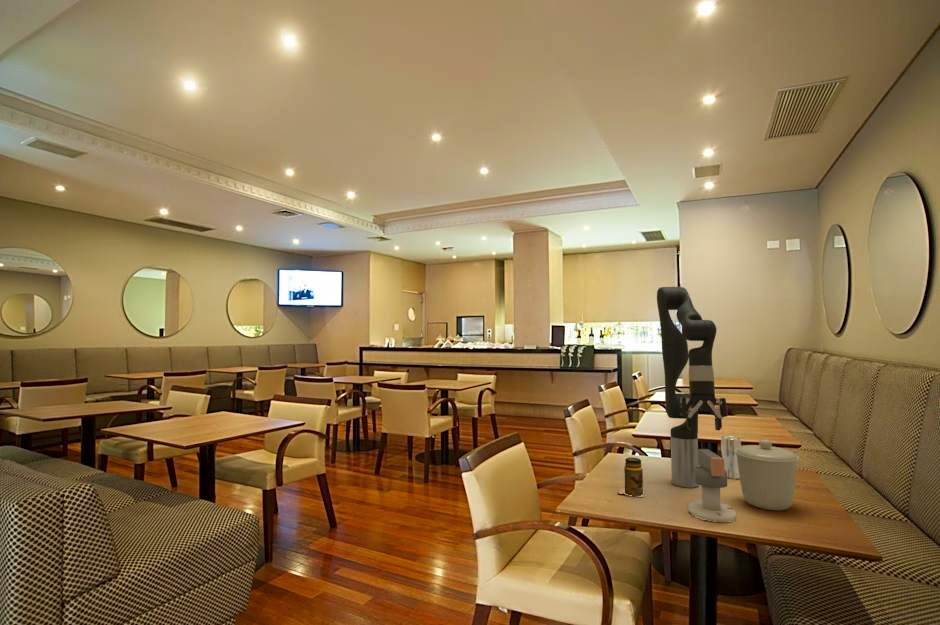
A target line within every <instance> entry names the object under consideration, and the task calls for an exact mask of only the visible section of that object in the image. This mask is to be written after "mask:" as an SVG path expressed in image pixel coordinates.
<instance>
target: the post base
mask: <svg viewBox="0 0 940 625" xmlns="http://www.w3.org/2000/svg"><path fill="white" fill-rule="evenodd" d="M701 496H702V497H701V500H693V501H691V502H689V503H688V513H689V512H690V513H691V514H692V515H694V516H696V517H699V518H702V519H706V520H710V521H716V522H729V521H733V520H735V519H736V518H737V514H736V513H737V512H736V509H735V508H734V507H733V506H730V505H728V504H726V503H721V488H711V487H705V486H701ZM692 515H691V516H692ZM735 521H736V520H735ZM733 522H734V521H733ZM729 523H730V522H729Z"/></svg>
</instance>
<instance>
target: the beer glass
mask: <svg viewBox="0 0 940 625" xmlns="http://www.w3.org/2000/svg"><path fill="white" fill-rule="evenodd" d="M741 446H742V442H741V437H739V436H733V435H721V439H720V451H721V452H720V453H721V458H723V459H724V470H726V471H727V479H730V478H731V479H732V480H740V476H739V469H738V462H737V455H736V454H735V453H734V450H735V449H738V448H739V447H741ZM731 479H730V480H731Z"/></svg>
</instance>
